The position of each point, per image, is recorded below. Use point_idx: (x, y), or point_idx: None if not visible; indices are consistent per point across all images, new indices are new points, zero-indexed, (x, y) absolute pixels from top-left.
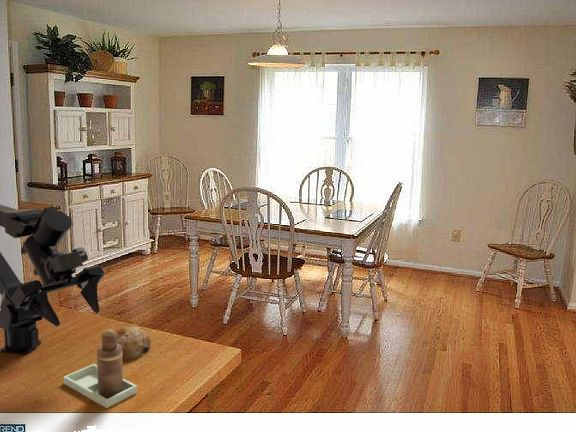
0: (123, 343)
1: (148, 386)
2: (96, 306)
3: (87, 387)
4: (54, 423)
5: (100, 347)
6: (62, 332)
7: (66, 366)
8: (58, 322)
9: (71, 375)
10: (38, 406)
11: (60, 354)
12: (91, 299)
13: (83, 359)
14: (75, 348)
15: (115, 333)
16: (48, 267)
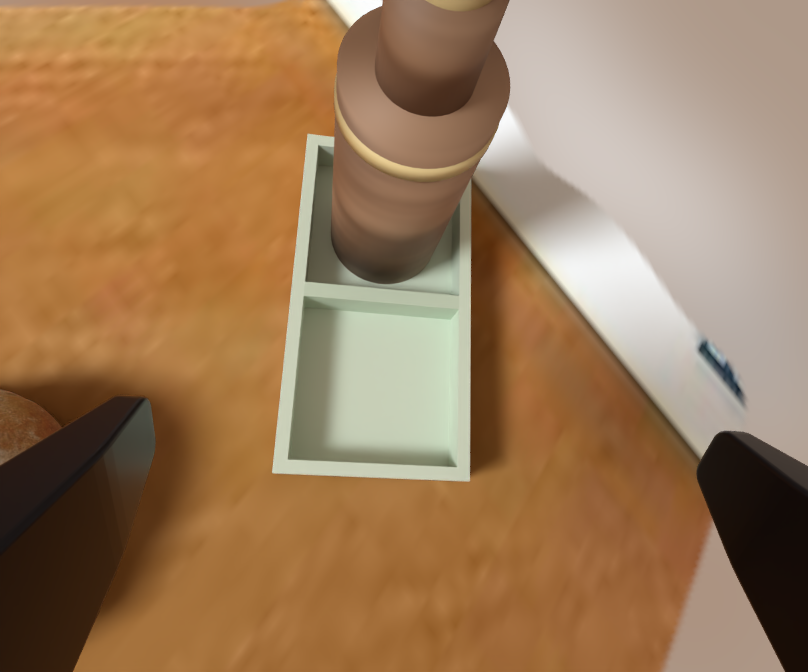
0: (10, 451)
1: (228, 165)
2: (110, 431)
3: (456, 297)
4: (627, 268)
5: (458, 128)
6: None
7: (323, 664)
8: (750, 441)
9: (429, 466)
10: (616, 414)
11: None
12: (4, 639)
13: (202, 666)
14: None
15: None
16: None
